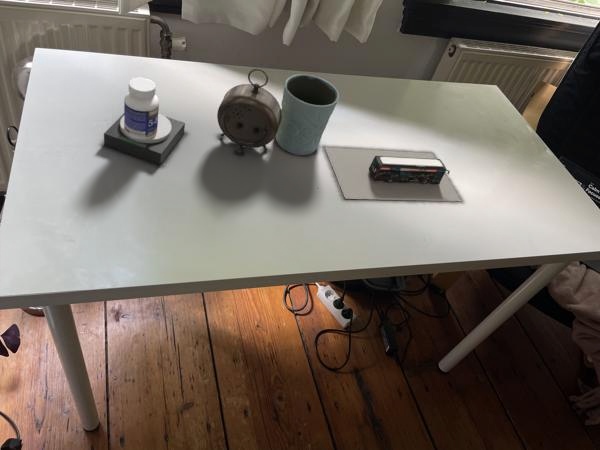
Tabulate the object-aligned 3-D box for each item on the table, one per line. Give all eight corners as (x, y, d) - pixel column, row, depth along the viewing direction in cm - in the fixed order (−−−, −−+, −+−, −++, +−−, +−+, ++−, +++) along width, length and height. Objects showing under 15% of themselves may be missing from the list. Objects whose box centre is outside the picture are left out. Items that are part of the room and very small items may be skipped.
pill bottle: (153, 143, 81) (155, 97, 75) (120, 136, 80) (120, 89, 74) (160, 124, 84) (162, 79, 78) (129, 118, 84) (129, 71, 77)
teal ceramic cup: (313, 127, 101) (329, 75, 93) (327, 159, 95) (347, 107, 87) (266, 125, 98) (279, 71, 89) (278, 158, 91) (293, 103, 83)
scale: (160, 164, 82) (161, 150, 80) (104, 145, 82) (103, 129, 80) (184, 133, 90) (185, 119, 87) (132, 115, 89) (132, 100, 87)
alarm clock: (274, 147, 93) (294, 71, 82) (267, 164, 89) (288, 87, 78) (218, 130, 93) (231, 51, 81) (210, 146, 89) (222, 65, 78)
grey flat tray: (461, 201, 97) (471, 185, 94) (345, 198, 88) (352, 181, 85) (431, 153, 106) (440, 138, 103) (324, 147, 97) (330, 130, 94)
